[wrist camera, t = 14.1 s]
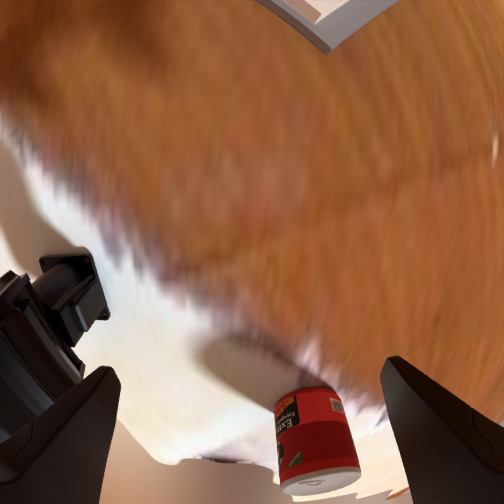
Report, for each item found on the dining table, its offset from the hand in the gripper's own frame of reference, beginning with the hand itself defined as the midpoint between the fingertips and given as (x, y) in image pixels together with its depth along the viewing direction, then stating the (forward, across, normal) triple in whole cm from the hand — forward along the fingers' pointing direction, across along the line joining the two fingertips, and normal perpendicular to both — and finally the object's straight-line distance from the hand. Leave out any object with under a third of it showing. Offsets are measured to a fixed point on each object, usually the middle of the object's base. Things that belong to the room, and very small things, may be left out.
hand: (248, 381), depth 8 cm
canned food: (+13, -6, +21) cm, 26 cm away
